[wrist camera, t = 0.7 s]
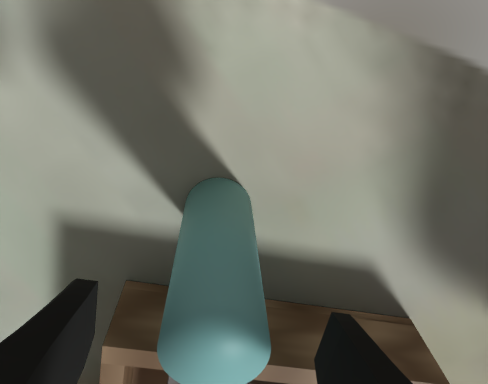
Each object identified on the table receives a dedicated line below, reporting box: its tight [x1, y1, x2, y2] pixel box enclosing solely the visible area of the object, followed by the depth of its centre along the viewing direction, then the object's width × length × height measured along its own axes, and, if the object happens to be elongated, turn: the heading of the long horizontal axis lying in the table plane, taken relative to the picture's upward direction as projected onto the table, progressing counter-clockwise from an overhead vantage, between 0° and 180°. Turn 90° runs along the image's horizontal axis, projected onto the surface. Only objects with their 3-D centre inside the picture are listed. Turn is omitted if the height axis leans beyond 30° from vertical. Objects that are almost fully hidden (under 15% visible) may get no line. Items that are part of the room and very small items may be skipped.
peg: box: [157, 178, 271, 384], centre depth 15 cm, size 3×3×9 cm
